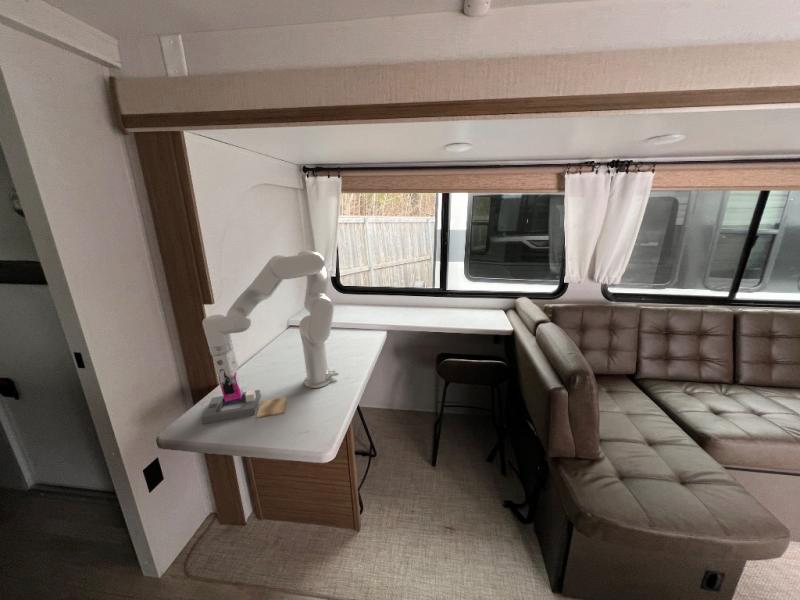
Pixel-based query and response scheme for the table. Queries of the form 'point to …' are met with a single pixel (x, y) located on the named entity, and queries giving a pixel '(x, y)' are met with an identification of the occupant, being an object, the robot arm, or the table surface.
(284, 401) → the coaster
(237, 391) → the supplement box
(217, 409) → the grey rectangular frame
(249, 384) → the table surface
